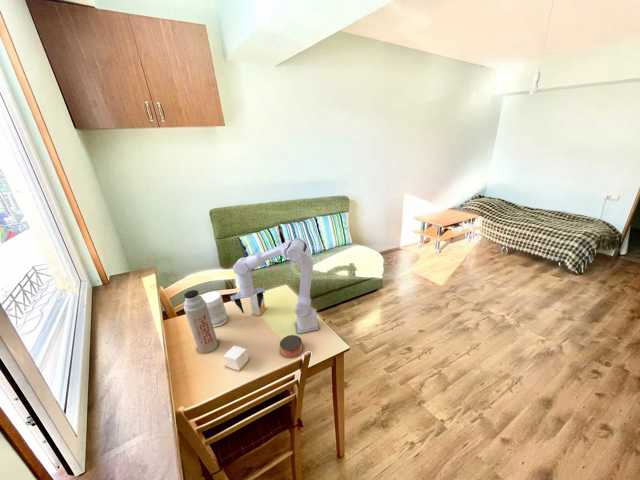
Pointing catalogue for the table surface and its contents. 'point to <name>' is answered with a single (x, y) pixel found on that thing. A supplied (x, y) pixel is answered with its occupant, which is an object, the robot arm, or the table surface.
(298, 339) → the terracotta tin
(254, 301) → the cosmetic box
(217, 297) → the supplement tub
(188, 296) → the thermos bottle
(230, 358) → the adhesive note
